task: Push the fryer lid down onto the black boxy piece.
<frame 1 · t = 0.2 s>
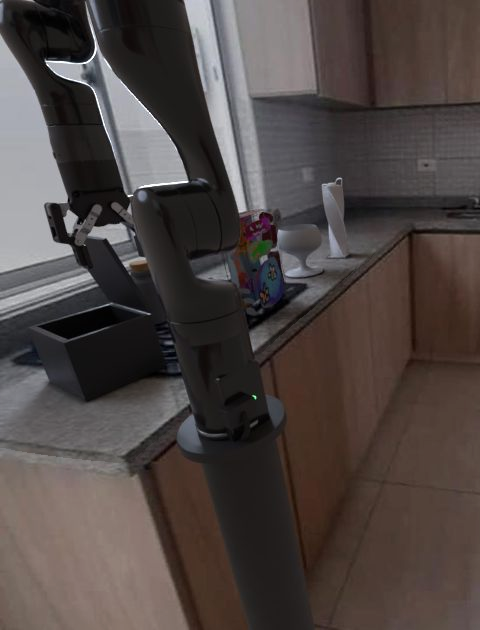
hand: (117, 262, 73), 22 cm above the worktop, tool pointing down, fingers open, 8 cm apart
skyscraper: (340, 257, 164), on the worktop
bottle: (157, 321, 110), on the worktop
fryer lid: (108, 272, 81), point 19 cm above the worktop, hinge at 75.0°
black boxy piece: (109, 374, 84), on the worktop
box: (272, 305, 116), on the worktop
chalice: (304, 273, 145), on the worktop
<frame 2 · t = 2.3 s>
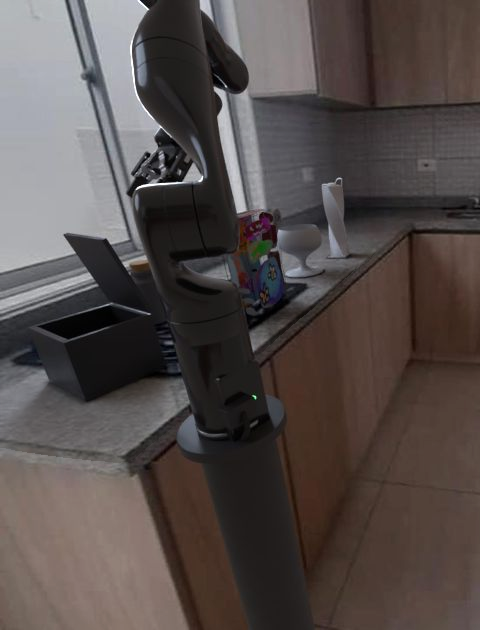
hand: (143, 197, 84), 31 cm above the worktop, tool tilted 45°, fingers open, 8 cm apart
nothing on the worktop moved.
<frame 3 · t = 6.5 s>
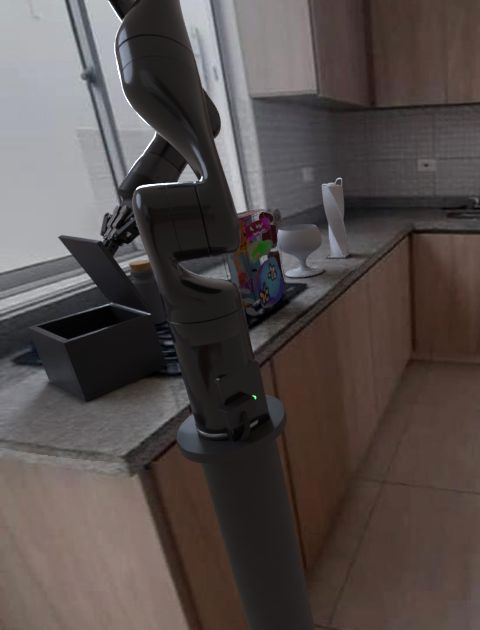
hand: (100, 260, 79), 21 cm above the worktop, tool tilted 45°, fingers closed
fryer lid: (105, 274, 81), point 18 cm above the worktop, hinge at 71.4°, touching gripper
everything else where it was.
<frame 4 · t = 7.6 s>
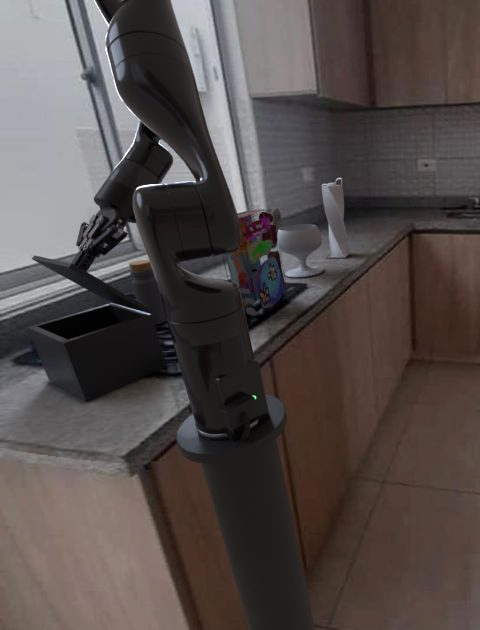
hand: (76, 272, 77), 20 cm above the worktop, tool tilted 45°, fingers closed
fryer lid: (93, 285, 79), point 17 cm above the worktop, hinge at 49.5°
everything else where it was.
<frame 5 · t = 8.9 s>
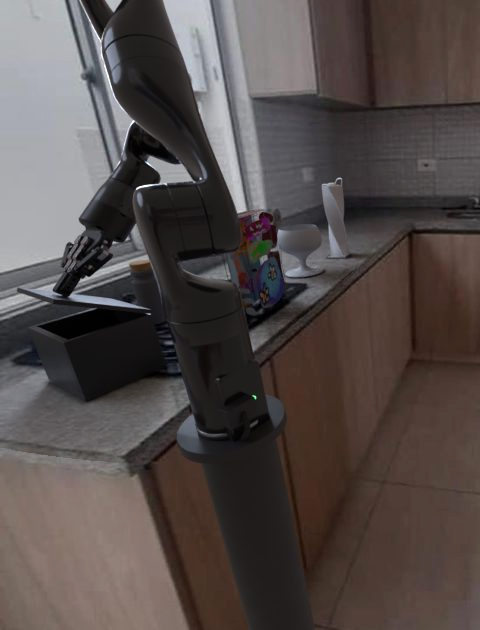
hand: (60, 294, 75), 17 cm above the worktop, tool tilted 45°, fingers closed
fryer lid: (86, 301, 79), point 15 cm above the worktop, hinge at 25.6°, touching gripper
everything else where it was.
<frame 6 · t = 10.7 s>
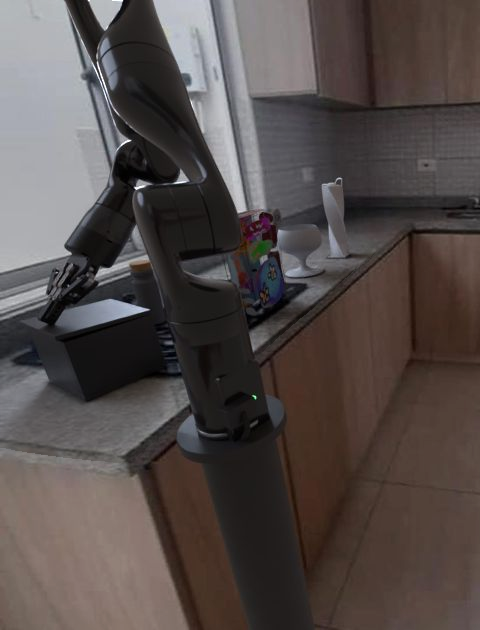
hand: (44, 322, 74), 13 cm above the worktop, tool tilted 45°, fingers closed
fryer lid: (86, 317, 79), point 12 cm above the worktop, hinge at 2.4°, touching gripper
everything else where it was.
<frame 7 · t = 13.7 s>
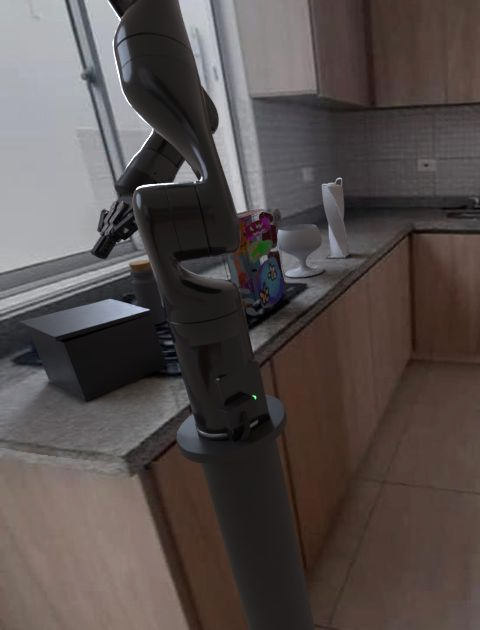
hand: (97, 256, 79), 22 cm above the worktop, tool tilted 45°, fingers closed
fryer lid: (86, 317, 79), point 12 cm above the worktop, hinge at 2.1°
everything else where it was.
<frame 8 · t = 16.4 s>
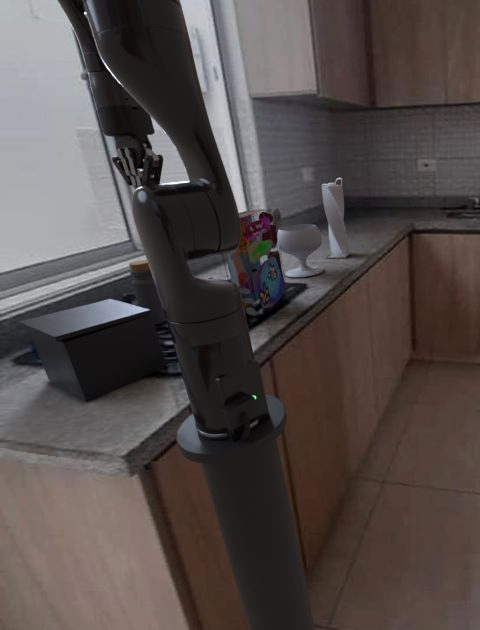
hand: (150, 210, 80), 29 cm above the worktop, tool pointing down, fingers closed
nothing on the worktop moved.
at the end: fryer lid at +2° (first picture: +75°) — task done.
